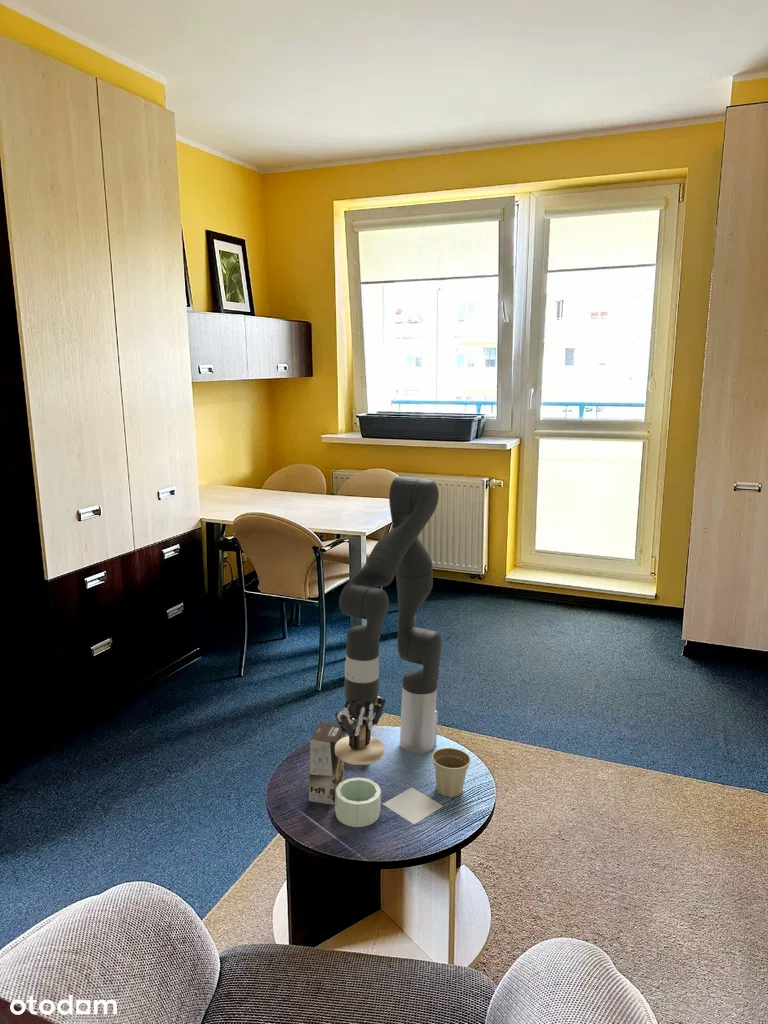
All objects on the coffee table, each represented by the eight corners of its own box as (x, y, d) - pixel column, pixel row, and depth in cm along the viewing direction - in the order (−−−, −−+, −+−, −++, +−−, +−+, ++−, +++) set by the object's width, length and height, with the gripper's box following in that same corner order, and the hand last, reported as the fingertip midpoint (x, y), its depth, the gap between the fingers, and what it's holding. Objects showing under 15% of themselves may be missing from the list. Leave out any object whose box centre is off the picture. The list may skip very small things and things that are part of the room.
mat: (411, 788, 169) (411, 787, 169) (443, 807, 162) (443, 805, 162) (382, 805, 162) (382, 804, 162) (413, 826, 155) (414, 824, 155)
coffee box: (334, 806, 161) (336, 742, 158) (308, 802, 162) (309, 738, 159) (344, 784, 170) (346, 723, 167) (319, 780, 171) (320, 720, 168)
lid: (394, 752, 155) (395, 727, 154) (358, 770, 148) (358, 745, 147) (360, 733, 163) (361, 710, 162) (324, 750, 155) (325, 725, 154)
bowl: (358, 795, 165) (359, 772, 164) (388, 815, 159) (389, 791, 157) (326, 813, 158) (327, 789, 157) (356, 834, 152) (357, 809, 150)
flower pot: (442, 774, 175) (444, 743, 174) (475, 788, 170) (477, 756, 168) (422, 791, 168) (424, 759, 166) (456, 806, 163) (458, 773, 161)
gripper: (349, 689, 144) (347, 764, 148) (396, 670, 154) (393, 742, 157) (326, 677, 150) (324, 750, 153) (372, 660, 159) (370, 729, 163)
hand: (359, 746), depth 155 cm, fingers closed on lid, 2 cm apart
